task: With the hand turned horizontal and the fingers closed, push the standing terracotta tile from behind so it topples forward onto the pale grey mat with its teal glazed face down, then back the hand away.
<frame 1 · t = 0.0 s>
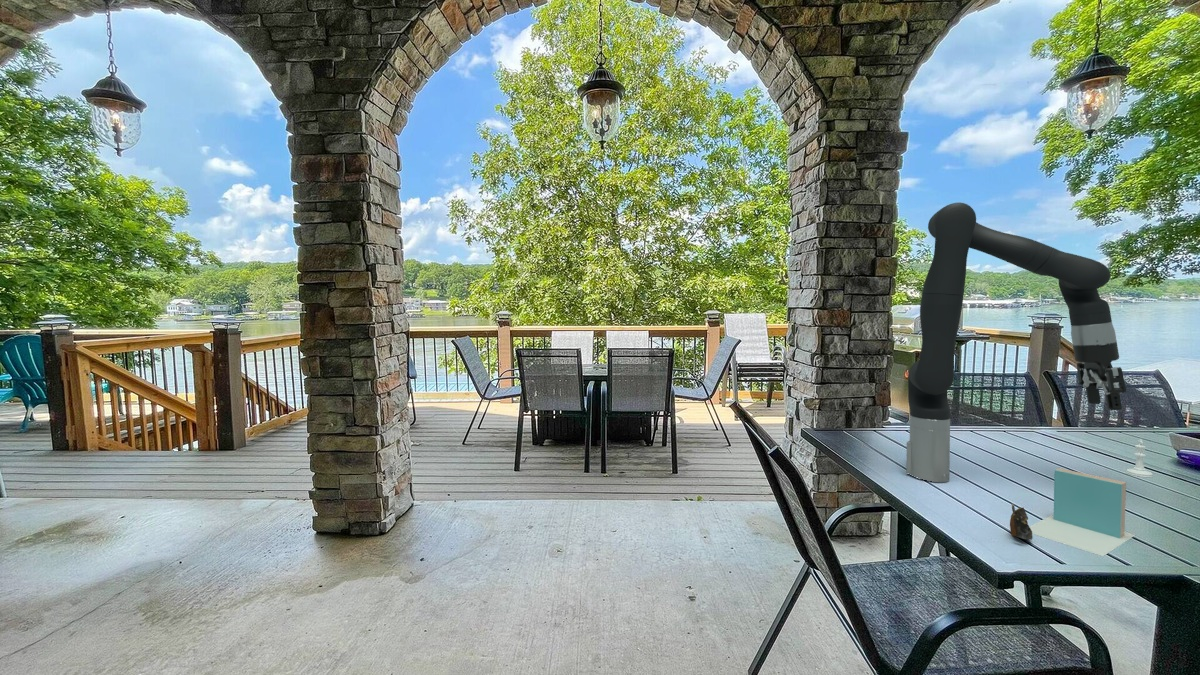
hand: (1104, 406, 114), 22 cm above the table, tool pointing down, fingers open, 8 cm apart
tile: (1087, 527, 97), resting on mat
mat: (1077, 534, 95), on the table
chess piece: (1139, 475, 128), on the table
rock: (1021, 544, 92), on the table
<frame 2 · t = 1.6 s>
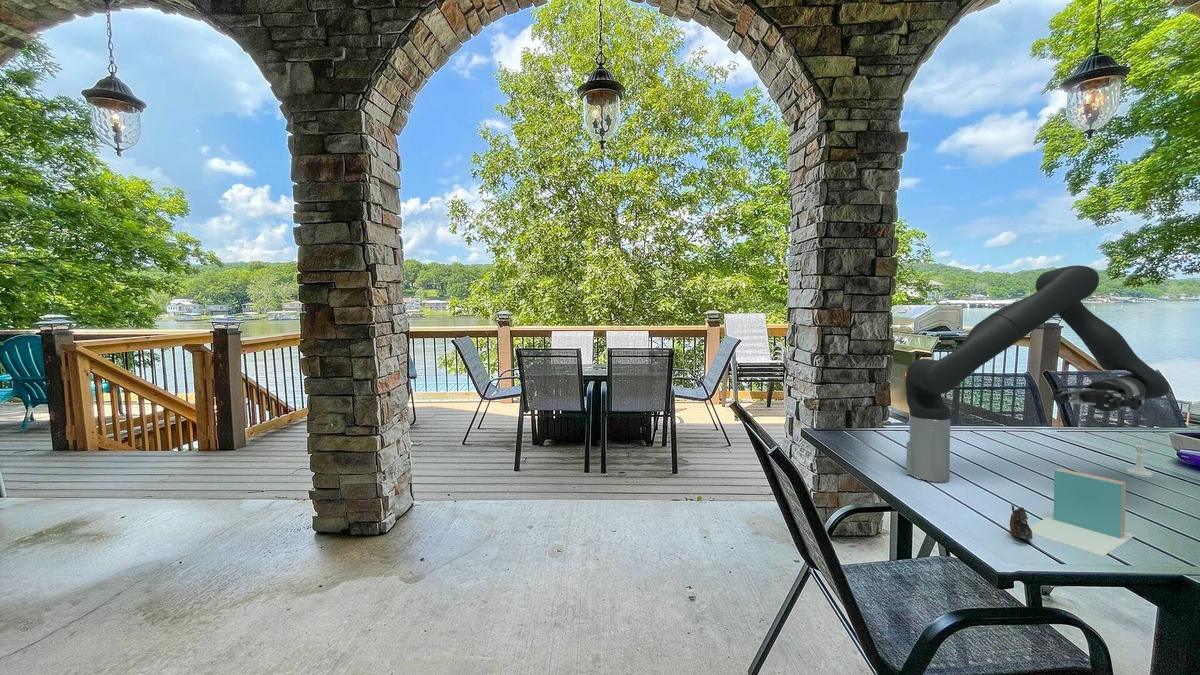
hand: (1084, 401, 106), 25 cm above the table, tool horizontal, fingers open, 8 cm apart
nothing on the table moved.
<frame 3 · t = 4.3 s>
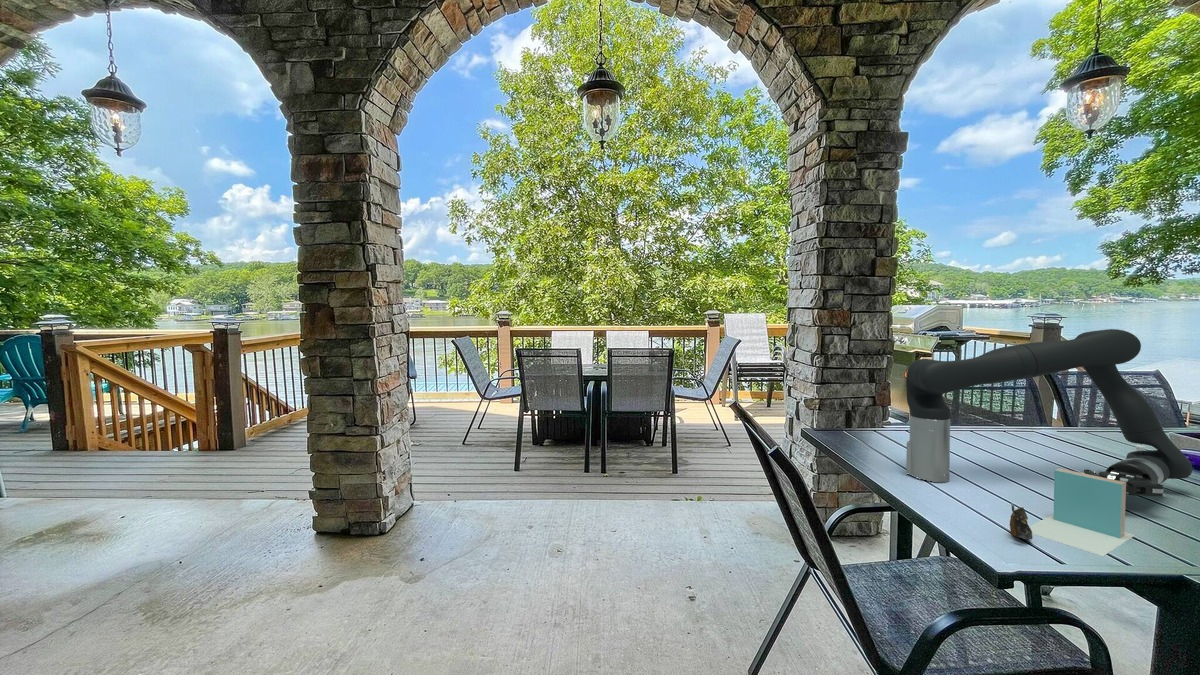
hand: (1107, 489, 101), 7 cm above the table, tool horizontal, fingers closed
nothing on the table moved.
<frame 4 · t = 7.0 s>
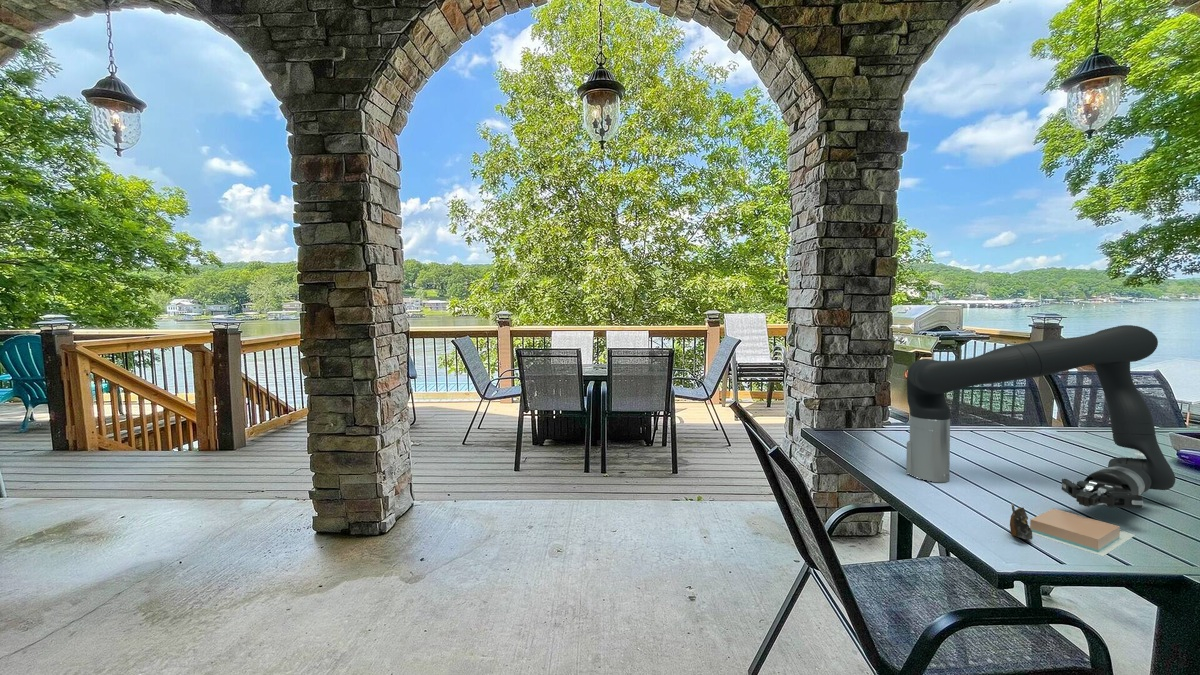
hand: (1083, 500, 96), 7 cm above the table, tool horizontal, fingers closed
tile: (1084, 522, 96), point 2 cm above the table, tilted 90°, touching mat
everything else where it was.
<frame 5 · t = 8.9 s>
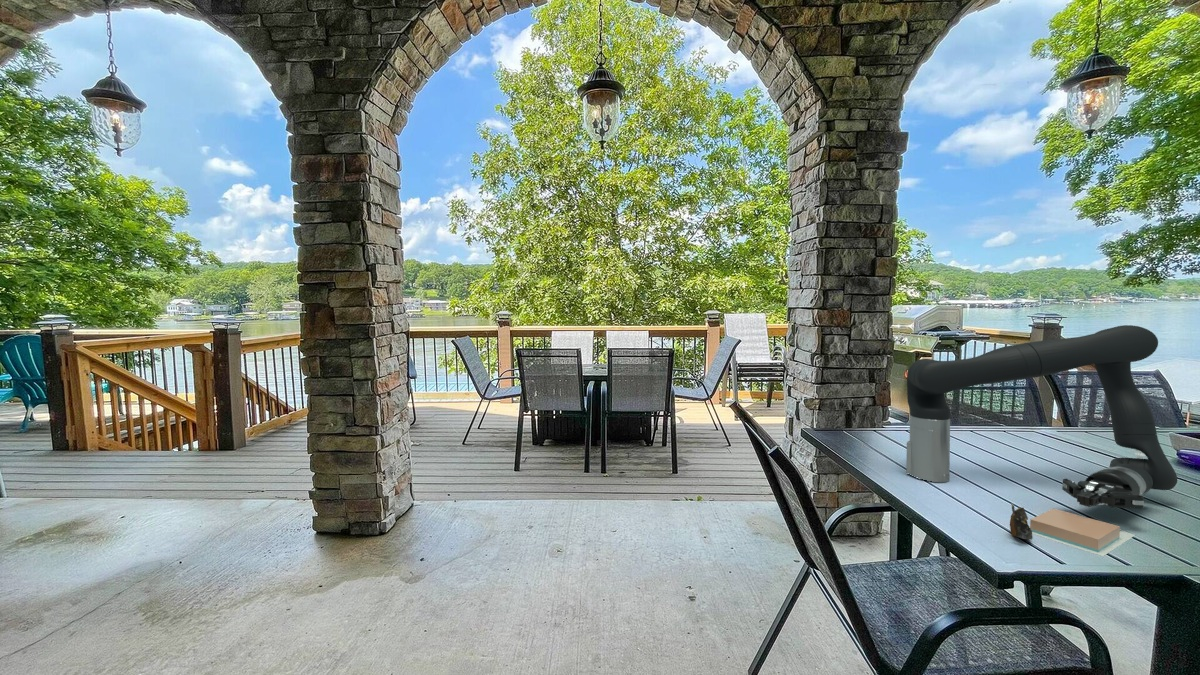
hand: (1084, 501, 96), 6 cm above the table, tool horizontal, fingers closed
nothing on the table moved.
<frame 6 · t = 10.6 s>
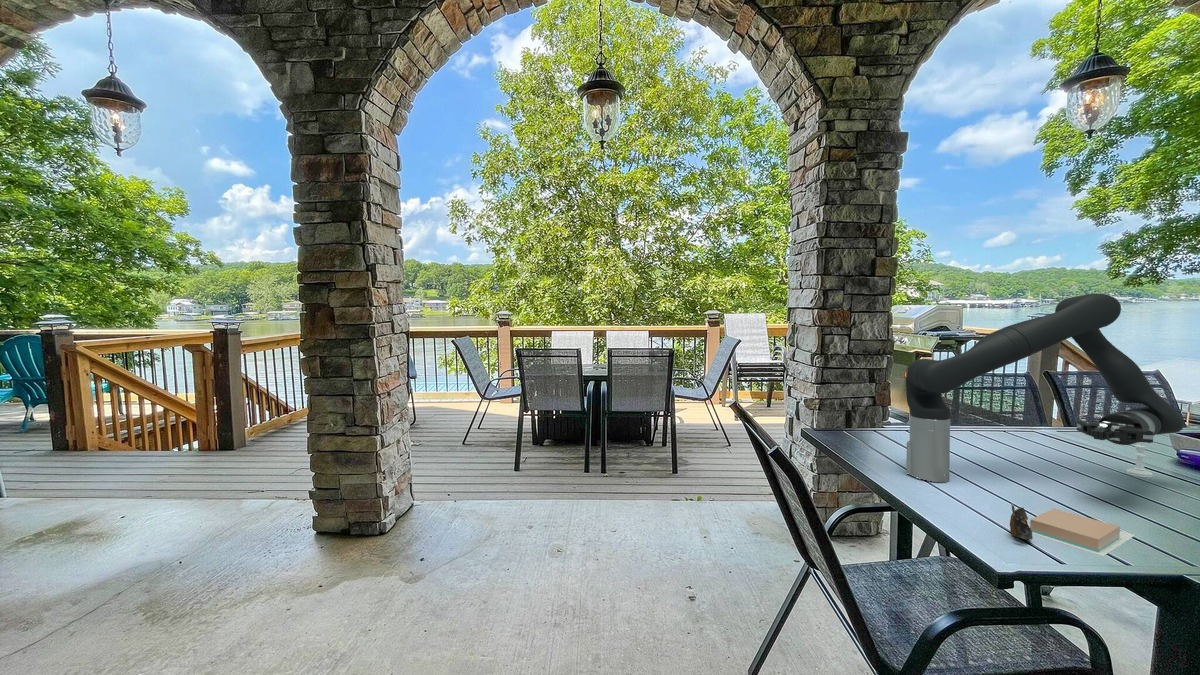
hand: (1098, 435, 104), 18 cm above the table, tool horizontal, fingers closed
nothing on the table moved.
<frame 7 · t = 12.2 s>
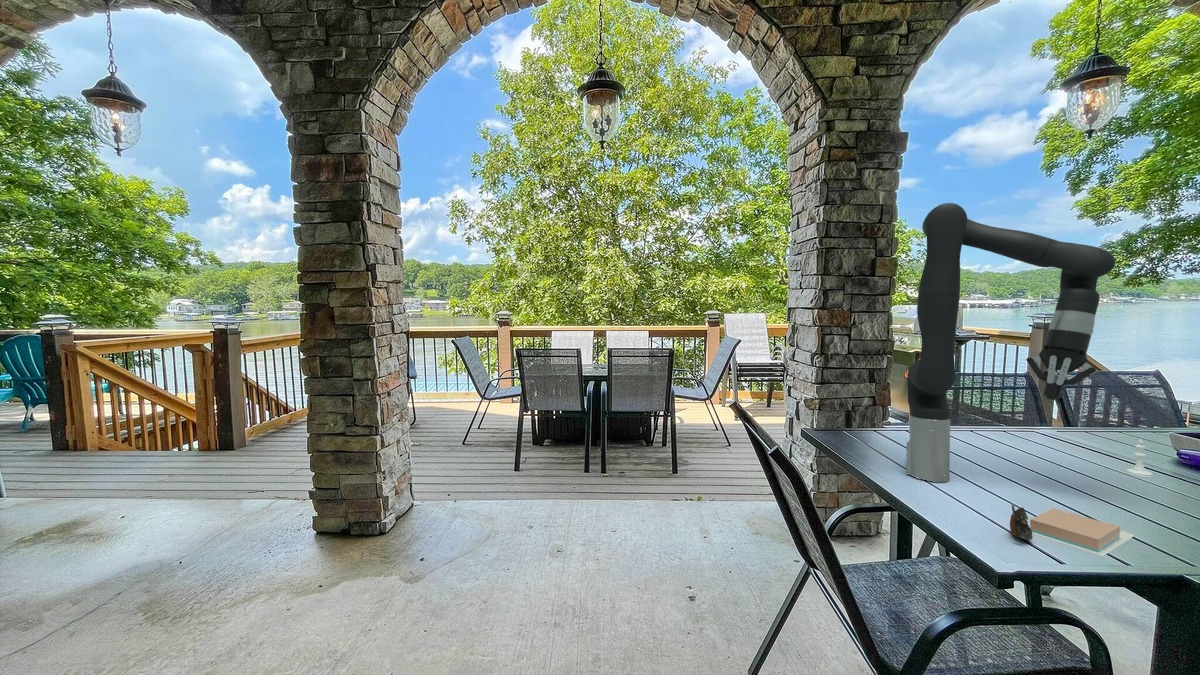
hand: (1051, 399, 113), 24 cm above the table, tool pointing down, fingers closed
nothing on the table moved.
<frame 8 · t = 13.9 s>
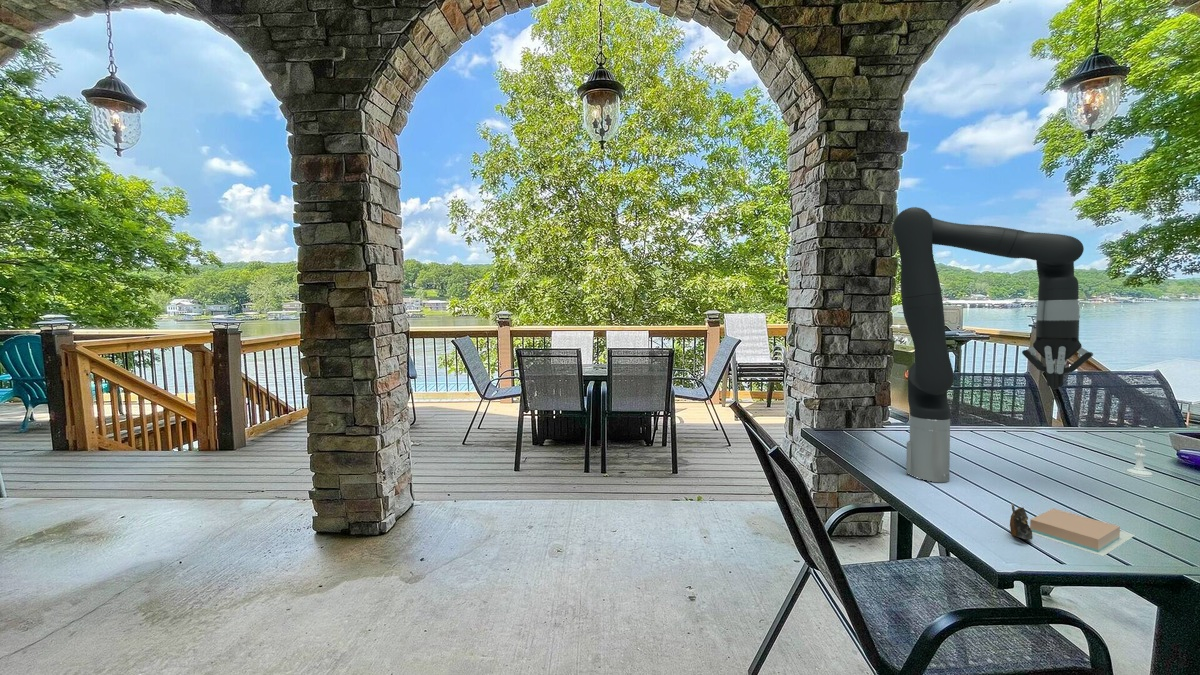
hand: (1055, 388, 114), 27 cm above the table, tool pointing down, fingers closed
nothing on the table moved.
at the end: tile tilted 90°; tile touching mat; tile inside the target area (3.1 cm from its centre), point 1.6 cm above the table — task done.
